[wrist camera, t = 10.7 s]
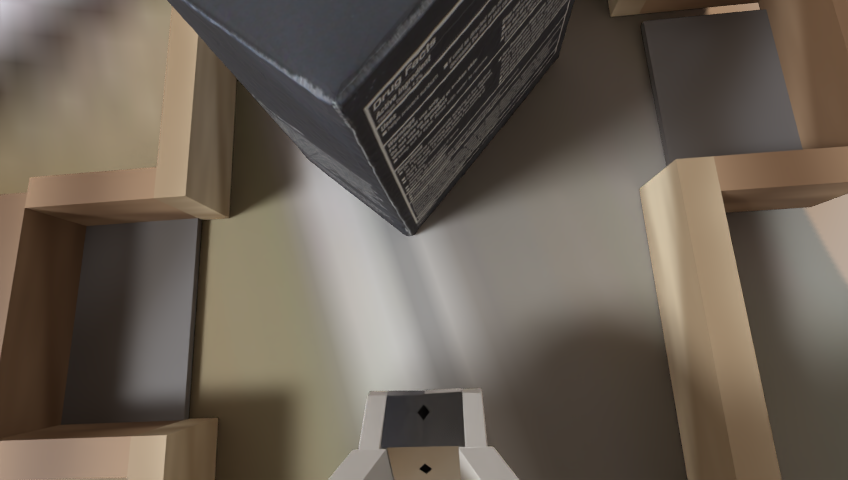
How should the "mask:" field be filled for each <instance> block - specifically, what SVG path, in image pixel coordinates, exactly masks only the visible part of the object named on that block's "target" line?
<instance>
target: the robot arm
mask: <svg viewBox="0 0 848 480" xmlns="http://www.w3.org/2000/svg"><path fill="white" fill-rule="evenodd" d="M462 399H463V400H462ZM328 480H519V478H518V477H517V476H516V475H515V473H514V472H513V471H512V469H511V468H510V467H509V466H508V464H507V463H506V462H505V460H504V459H503V458H502V457H501V455H500V454H499V453H498V451H497V450H496V449H495V448H494V446H488V443H487V433H486V423H485V413H484V403H483V394H482V389H481V388H467V389H462V388H454V389H433V390H425V391H370V392H369V394H368V396H367V401H366V406H365V412H364V418H363V424H362V430H361V436H360V442H359V448H358V449H354V450H352V451H351V452H350V453H349V455H348V456H347V457H346V458H345V459H344V461H343V462H342V463H341V464H340V466H339V467H338V468H337V469H336V470H335V472H334V473H333V474H332V475H331V476H330V478H329V479H328Z"/></svg>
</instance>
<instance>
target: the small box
mask: <svg viewBox="0 0 848 480" xmlns="http://www.w3.org/2000/svg"><path fill="white" fill-rule="evenodd" d="M167 1H168V2H169V3H170V4H171V5H172V6H173V8H174V9H175V10H176V11H177V12H178V13H179V14H180V15H181V16H182V18H183V19H184V20H185V21H186V22H187V23H188V24H189V25H190V26H191V27H192V28H193V30H194V31H195V32H196V33H197V34H198V35H199V37H200V38H201V39H202V40H203V41H204V42H205V43H206V44H207V46H208V47H209V48H210V49H211V50H212V51H213V52H214V54H215V55H216V56H217V57H218V58H219V59H220V60H221V61H222V62H223V63H224V65H225V66H226V67H227V68H228V69H229V70H230V71H231V72H232V73H233V75H234V76H235V77H236V78H237V79H238V80H239V81H240V82H241V83H242V84H243V85H244V87H245V88H246V89H247V90H248V91H249V92H250V94H251V95H252V96H253V97H254V98H255V99H256V100H257V102H258V103H259V104H260V105H261V106H262V107H263V108H264V110H265V111H266V112H267V113H268V114H269V115H270V116H271V117H272V118H273V120H274V121H275V122H276V123H277V124H278V125H279V126H280V128H281V129H282V130H283V131H284V132H285V133H286V134H287V135H288V136H289V138H290V139H291V140H292V141H293V142H294V143H295V144H296V145H297V146H298V148H299V149H300V150H301V151H302V153H303V154H304V155H305V156H306V158H307V159H309V160H310V161H311V162H312V163H314V164H315V165H316V166H317V167H318V168H320V169H321V170H322V171H323V172H325V173H326V174H327V175H328V176H329V177H331V178H332V179H334V180H335V181H336V182H338V183H339V184H340V185H341V186H343V187H344V188H345V189H346V190H348V191H349V192H350V193H352V194H353V195H354V196H355V197H357V198H358V199H359V200H361V201H362V202H363V203H364V204H366V205H367V206H368V207H370V208H371V209H372V210H374V211H375V212H376V213H377V214H379V215H380V216H381V217H382V218H384V219H385V220H386V221H388V222H389V223H390V224H391V225H393V226H394V227H395V228H397V229H398V230H399V231H400V232H402V233H403V234H405V235H406V236H412V235H414V234H415V233H416V231H417V230H418V229H419V227H420V226H421V225H422V224H423V222H424V221H425V220H426V219H427V218H428V217H429V215H430V214H431V213H432V212H433V211H434V209H435V208H436V207H437V206H438V205H439V203H440V202H441V201H442V200H443V199H444V197H445V196H446V195H447V193H448V192H449V191H450V190H451V188H452V187H453V186H454V185H455V184H456V182H457V181H458V180H459V179H460V178H461V177H462V176H463V175H464V174H465V172H466V170H467V169H468V168H469V167H470V165H471V164H472V163H473V162H474V160H475V159H476V158H477V157H478V156H479V154H480V153H481V152H482V150H483V149H484V148H485V147H486V146H487V144H488V143H489V142H490V141H491V140H492V139H493V137H494V136H495V135H496V133H497V132H498V131H499V130H500V129H501V128H502V127H503V126H504V125H505V123H506V122H507V120H508V119H509V118H510V116H511V115H512V114H513V113H514V111H515V110H516V109H517V108H518V106H519V105H520V104H521V103H522V101H523V100H524V99H525V98H526V97H527V95H528V94H529V93H530V92H531V90H532V89H533V88H534V86H535V85H536V84H537V83H538V82H539V80H540V79H541V78H542V76H543V75H544V74H545V73H546V71H547V70H548V69H549V68H550V66H551V65H552V64H553V62H554V61H555V60H556V59H557V58H558V57H559V52H560V49H561V45H562V42H563V39H564V36H565V32H566V27H567V24H568V21H569V18H570V14H571V10H572V7H573V3H574V1H575V0H167Z"/></svg>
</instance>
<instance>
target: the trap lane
mask: <svg viewBox="0 0 848 480" xmlns="http://www.w3.org/2000/svg"><path fill="white" fill-rule="evenodd" d="M757 2H758V3H759V7H760V10H753V11H743V12H732V13H722V14H712V15H701V16H691V17H681V18H670V19H660V20H650V21H643V23H642V25H641V30H642V35H643V41H644V46H645V52H646V57H647V62H648V68H649V73H650V79H651V84H652V90H653V95H654V101H655V106H656V111H657V117H658V122H659V128H660V133H661V139H662V144H663V149H664V155H665V160H666V166H667V167H666V168H664V169H663V170H662V171H661V172H660V173H658V174H657V175H656V176H655V177H653V178H652V179H651V180H650V181H649V182H647V183H646V184H645V185H644V186H642V187H641V188H640V189H639V190H640V196H641V202H642V208H643V214H644V220H645V226H646V232H647V238H648V244H649V250H650V256H651V262H652V268H653V274H654V280H655V286H656V292H657V298H658V304H659V310H660V316H661V322H662V328H663V334H664V340H665V346H666V352H667V358H668V364H669V370H670V376H671V382H672V388H673V394H674V400H675V406H676V412H677V418H678V424H679V430H680V436H681V442H682V448H683V454H684V460H685V466H686V472H687V478H688V480H782V479H781V474H780V469H779V464H778V460H777V455H776V450H775V445H774V441H773V436H772V431H771V426H770V422H769V417H768V412H767V407H766V403H765V398H764V393H763V388H762V384H761V379H760V374H759V369H758V365H757V360H756V355H755V350H754V346H753V341H752V336H751V331H750V327H749V322H748V317H747V312H746V308H745V303H744V298H743V293H742V289H741V284H740V279H739V274H738V270H737V265H736V260H735V255H734V251H733V246H732V241H731V236H730V232H729V227H728V222H727V218H726V213H728V212H743V211H758V210H773V209H788V208H803V207H812V206H815V205H818V204H820V203H823V202H826V201H829V200H831V199H834V198H837V197H839V196H842V195H845V194H848V0H608V5H609V11H610V17H615V16H625V15H635V14H646V13H656V12H666V11H676V10H686V9H696V8H707V7H717V6H727V5H736V4H747V3H757ZM236 82H237V78H236V77H235V76H234V75H233V73H232V72H231V71H230V70H229V69H228V68H227V67H226V66H225V65H224V63H223V62H222V61H221V60H220V59H219V58H218V57H217V56H216V55H215V54H214V52H213V51H212V50H211V49H210V48H209V47H208V46H207V44H206V43H205V42H204V41H203V40H202V39H201V38H200V37H199V35H198V34H197V33H196V32H195V31H194V30H193V28H192V27H191V26H190V25H189V24H188V23H187V22H186V21H185V20H184V19H183V18H182V16H181V15H180V14H179V13H178V12H177V11H176V10H175V9H174V8H173V6H172V11H171V22H170V32H169V43H168V53H167V64H166V74H165V85H164V95H163V106H162V116H161V127H160V137H159V147H158V158H157V167H152V168H139V169H127V170H114V171H102V172H89V173H77V174H64V175H52V176H40V177H30V179H29V185H28V191H27V193H14V194H1V195H0V480H52V479H88V478H124V477H127V480H215V469H216V451H217V432H218V418H195V419H189V405H190V390H191V375H192V361H193V346H194V332H195V317H196V302H197V288H198V273H199V259H200V244H201V229H202V220H209V219H223V218H229V211H230V193H231V174H232V156H233V137H234V119H235V100H236Z"/></svg>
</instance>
